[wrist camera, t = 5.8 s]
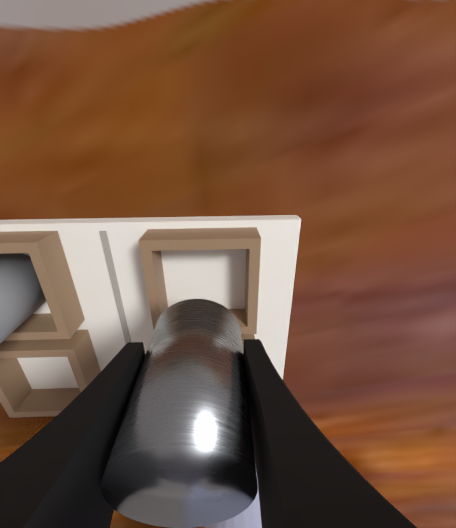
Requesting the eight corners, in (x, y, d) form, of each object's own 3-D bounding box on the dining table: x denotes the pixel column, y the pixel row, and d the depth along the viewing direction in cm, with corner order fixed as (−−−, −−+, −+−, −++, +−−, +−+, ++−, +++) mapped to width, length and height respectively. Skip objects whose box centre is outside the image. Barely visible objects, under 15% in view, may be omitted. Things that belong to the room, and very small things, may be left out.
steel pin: (236, 367, 13) (248, 528, 8) (156, 364, 13) (109, 527, 7) (245, 301, 11) (268, 448, 6) (153, 296, 11) (90, 443, 6)
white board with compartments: (278, 380, 23) (301, 471, 17) (5, 388, 22) (-79, 485, 16) (296, 215, 17) (344, 260, 10) (-87, 221, 16) (-286, 273, 10)
